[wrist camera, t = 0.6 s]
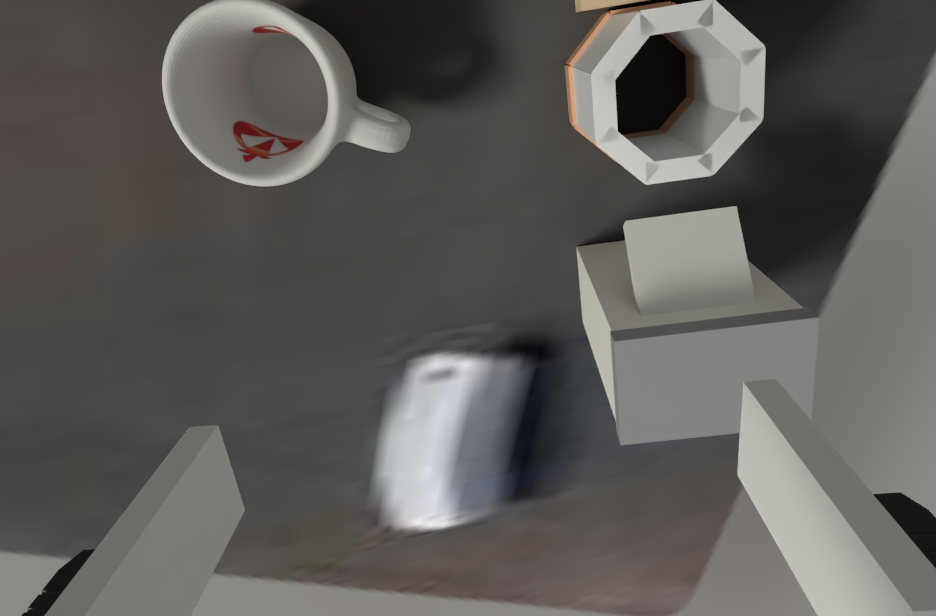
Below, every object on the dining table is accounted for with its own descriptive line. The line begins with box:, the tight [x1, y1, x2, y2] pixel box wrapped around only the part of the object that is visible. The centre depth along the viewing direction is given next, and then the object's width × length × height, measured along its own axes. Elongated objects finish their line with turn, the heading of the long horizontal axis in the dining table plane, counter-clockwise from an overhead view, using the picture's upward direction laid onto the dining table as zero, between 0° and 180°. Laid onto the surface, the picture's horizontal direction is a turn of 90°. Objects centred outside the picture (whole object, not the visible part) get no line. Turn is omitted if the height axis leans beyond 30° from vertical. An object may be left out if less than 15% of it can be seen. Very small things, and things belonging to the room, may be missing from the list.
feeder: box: [576, 206, 819, 445], centre depth 32 cm, size 9×8×13 cm
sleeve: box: [565, 0, 766, 185], centre depth 31 cm, size 8×8×8 cm
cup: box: [162, 0, 411, 186], centre depth 31 cm, size 11×8×8 cm
